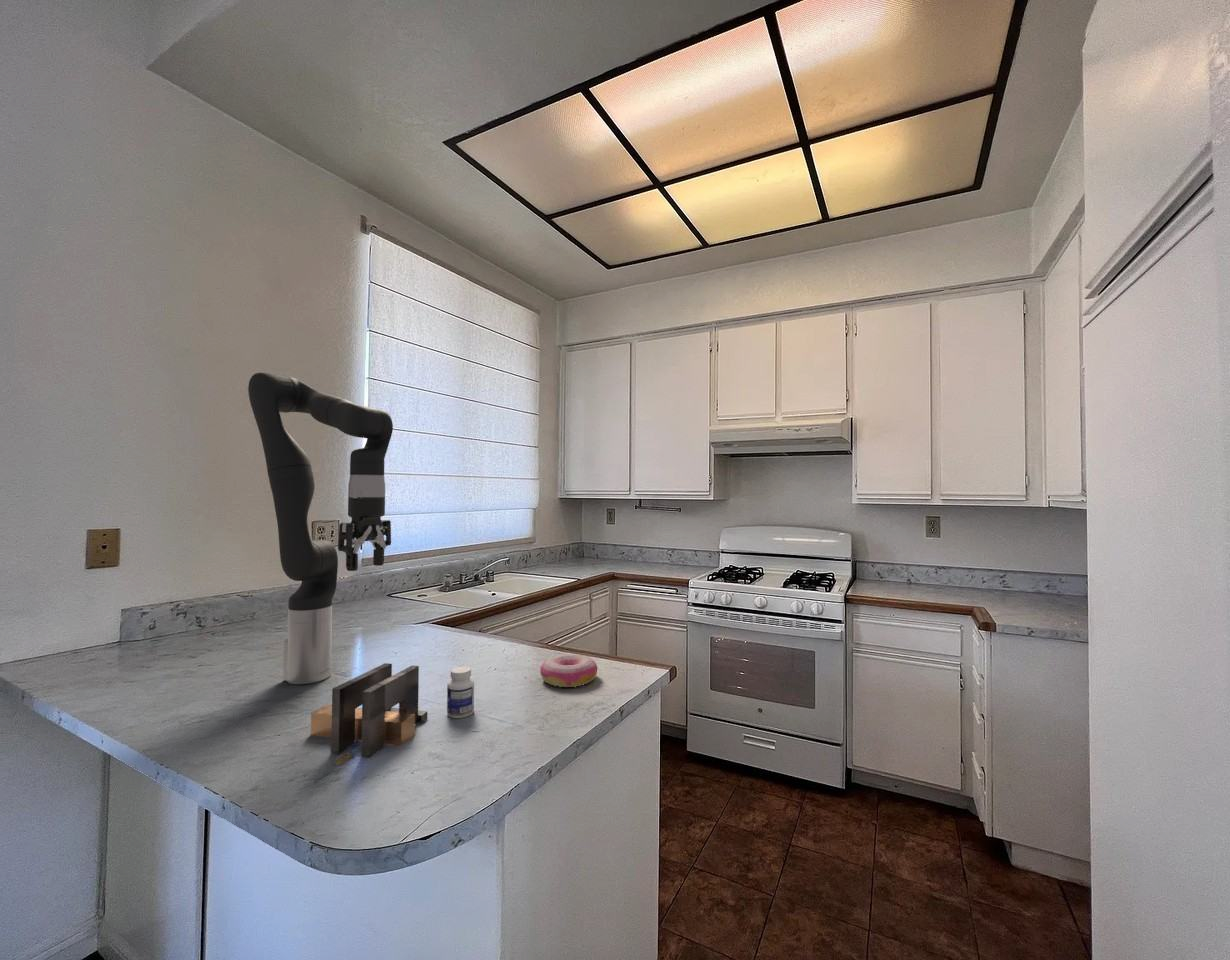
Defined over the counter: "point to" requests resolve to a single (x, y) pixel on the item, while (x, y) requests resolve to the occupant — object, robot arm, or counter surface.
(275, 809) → the counter surface
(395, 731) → the tall wooden block
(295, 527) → the robot arm
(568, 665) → the donut
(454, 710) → the pill bottle
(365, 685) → the dark two-tier wooden rack
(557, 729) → the counter surface
